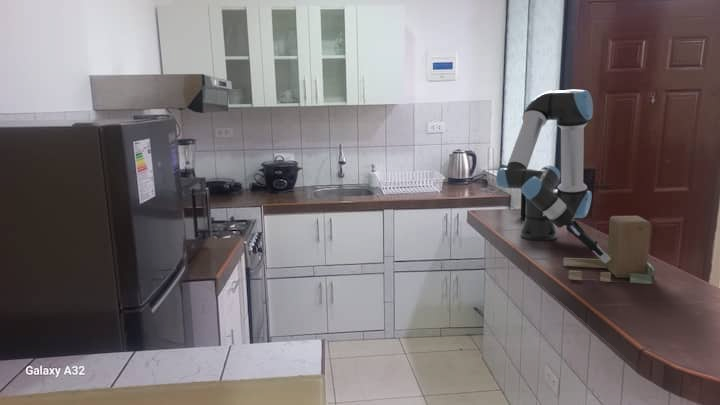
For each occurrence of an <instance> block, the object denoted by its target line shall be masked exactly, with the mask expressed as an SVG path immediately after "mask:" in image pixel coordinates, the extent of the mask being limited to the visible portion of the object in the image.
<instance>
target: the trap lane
mask: <svg viewBox="0 0 720 405" xmlns="http://www.w3.org/2000/svg"><path fill="white" fill-rule="evenodd" d="M563 266H564V267H573V268H574V267H575V268H576V267H580V268H601V269H607V263H604V262H603V261H602V260H601V259H600V258H585V257H584V258H581V257H563ZM655 272H656V268H654V267H653V266H652V265H651V263H650V262H649V261H648V262H647V274H633V273H630V278H629V280H614V279H613V280H611V277H612V273H611V272H610V271H607V272H606V271H600V278H599V279H594V278H593V279H592V278H583V276H582V275H583V271H582V270H568V280H569V279H570V281H571V280H574V281H590V282H592V281H593V282H609V283H610V282H611V283H628V284H629V283H630V284H631V283H632V284H647V285H649V284H650V285H654V284H655V275H656V274H655Z"/></svg>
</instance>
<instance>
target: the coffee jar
mask: <svg viewBox="0 0 720 405" xmlns="http://www.w3.org/2000/svg"><path fill="white" fill-rule="evenodd" d="M520 217H521V218H522V219H521V220H525V218H526V196H525V195H524V194H523V193H522V192H521V191H520Z"/></svg>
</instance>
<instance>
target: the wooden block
mask: <svg viewBox="0 0 720 405" xmlns="http://www.w3.org/2000/svg"><path fill="white" fill-rule="evenodd" d="M650 233H651V222H650V221H649V220H647V219H645V218H643V217H641V216H639V215H612V216H610V217H609V227H608V241H607V254H608V255H609V256H610V257H611V260H609V261H608V262H607V268H606V270H607V271H608V272H611V275H613V276H614V277H615V278H617V279H630V273H633V274H647V262H649V261H648V260H649V249H650V248H649V245H650V236H651V234H650Z"/></svg>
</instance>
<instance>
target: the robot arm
mask: <svg viewBox="0 0 720 405" xmlns="http://www.w3.org/2000/svg"><path fill="white" fill-rule="evenodd" d="M593 116H594V103H593V98H592V95H591V93H590V92H589V91H588V90H587V89H585V90H584V89H566V90H548V91H546V92H543V93H541V94H539V95H537V96H536V97H535V98H533V100H531V102H530V103H529V104H528V105H527V107H526V108H525V110H524V112H523V114H522V117H521V118H522V121H523V122H522V124H521V127H520V130H519V133H518V136H517V138H516V141H515V143H514V146H513V150H512V151H511V155H510V156H509V159H508V162H507V165H506V167H501V168H499V169H497V172H496V180H495V181H496V183H497V185H498V187H501V188H503V189H504V188H505V189H520V193H521V192H522V193H523V194H524V195H525V196H526V218H525V219H524V222H523V225H522V228H521V230H520V236H521V237H522V238H524V239H526V240H529V241H545V242H546V241H553V240H555V239H557V235H558V234H557V229H556V227H557V228H558V229H560V228H563V227H565V226H566V227H565V228H566V230H567V231H568V232H569V233H570V234H572V235H573V236H574V237H575V239H578V240H579V241H580V242H582V244H583V245H584V246H585V247H587V249H588V251H589V253H591V252H592V253H594V255H595V256H596V257H597V258H598V259H601V260H602V261H603V262H604V263H607V262H608V261H609V260H611V257H610V256H609V255H608V252H606V251H604V250H603V248H601V247H600V245H599V244H598V241H597V240H595V241H594V239H593V238H591V236H589V234H587V233H586V232H585V231H584V229H583V228H582V227H581V225H579V223H578V222H577V221H576V220H573V219H576V218H577V219H578V218H579V219H583V218H585V217H586V216H587V215H588V213H589V210H590V207H591V204H592V196H593V194H592V191H590V190H588V186H587V185H586V183H584V156H585V155H584V154H585V153H584V151H585V148H584V146H585V145H584V143H585V139H584V138H585V136H584V135H585V134H584V133H585V132H584V131H585V130H584V129H585V127H586V126H587V124H588V123H589V120H591V119H592V118H593ZM551 120H553V121H556V125H557V127H559V128H560V170H559V169H558V168H557V167H555V166H554V165H546V166H543V167H542V168H540V169H530V168H528V167H529V165H530V162H531V158H532V157H533V156H532V155H533V154H534V150H535V147H536V144H537V142H538V138H539V136H540V133H541V130H542V127H544V126H545V125H546V124H547V121H551ZM560 179H561V180H560ZM559 182H561V183H560V184H559ZM556 187H557V188H556Z"/></svg>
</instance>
